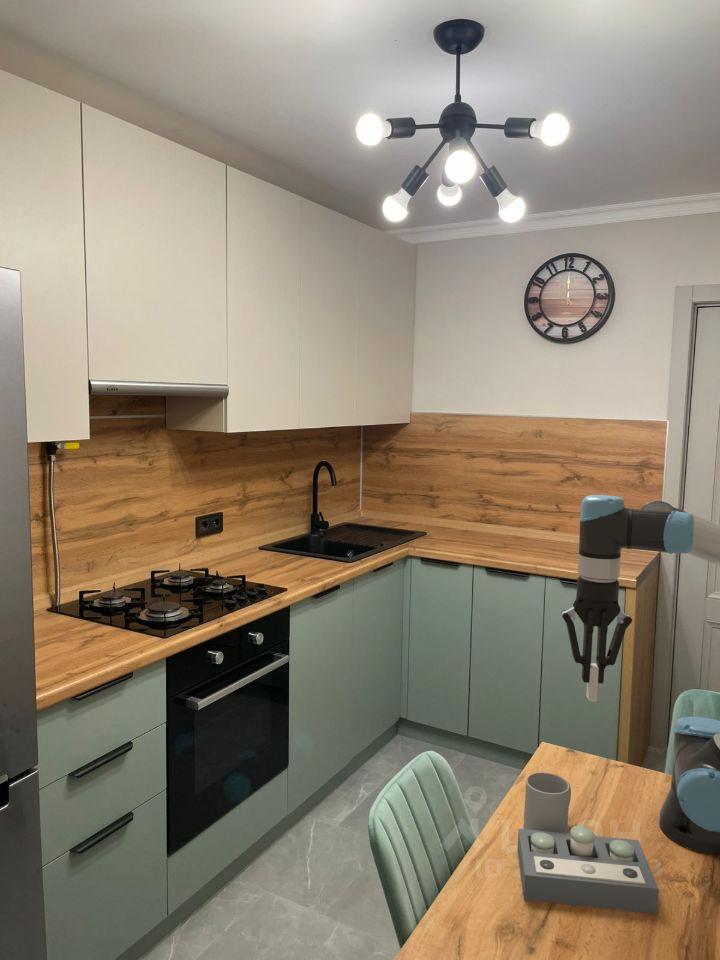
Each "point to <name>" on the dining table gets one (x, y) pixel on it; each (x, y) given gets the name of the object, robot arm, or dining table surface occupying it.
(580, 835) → the button mid
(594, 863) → the card
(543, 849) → the button
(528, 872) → the button board
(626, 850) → the button
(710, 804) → the robot arm
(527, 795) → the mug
